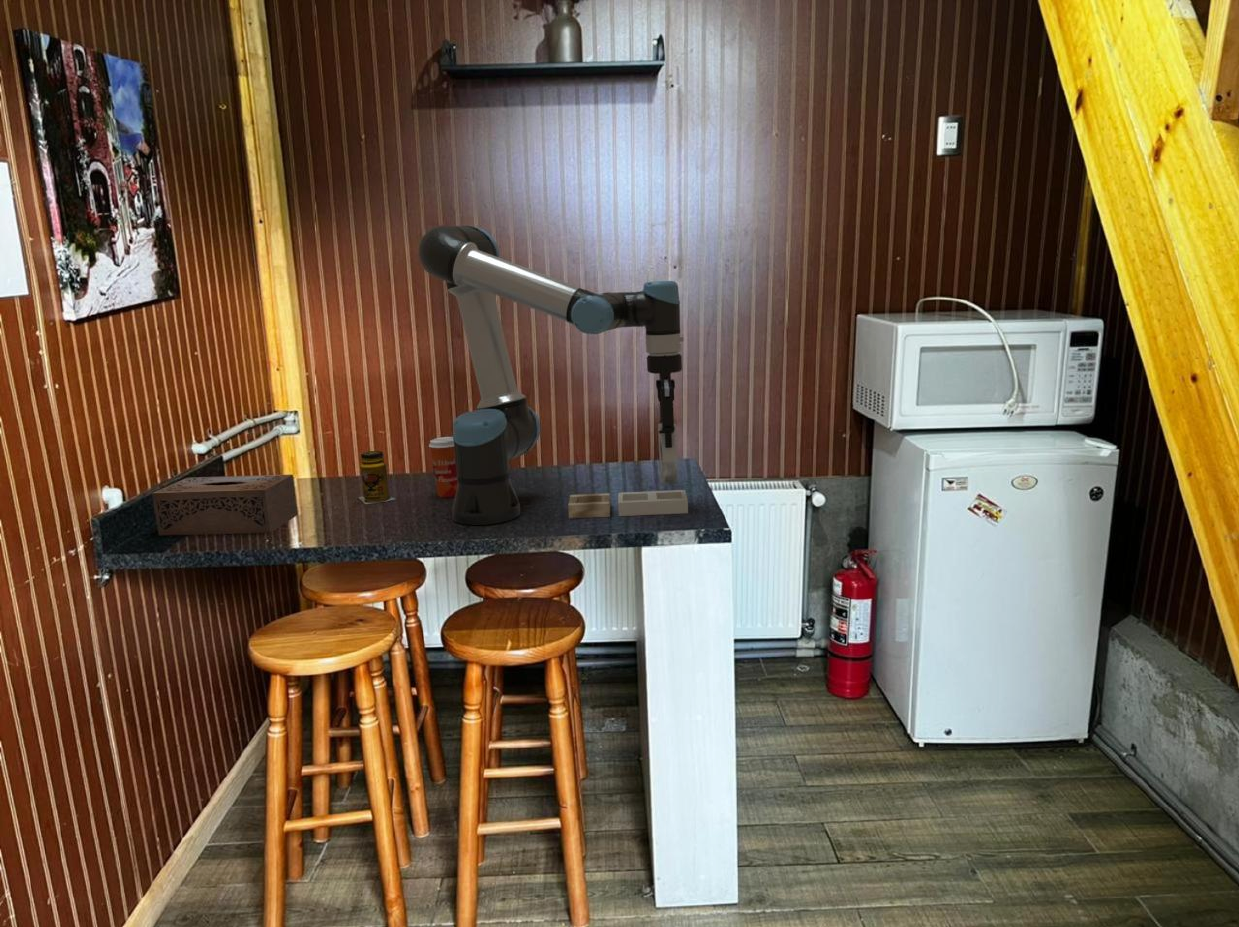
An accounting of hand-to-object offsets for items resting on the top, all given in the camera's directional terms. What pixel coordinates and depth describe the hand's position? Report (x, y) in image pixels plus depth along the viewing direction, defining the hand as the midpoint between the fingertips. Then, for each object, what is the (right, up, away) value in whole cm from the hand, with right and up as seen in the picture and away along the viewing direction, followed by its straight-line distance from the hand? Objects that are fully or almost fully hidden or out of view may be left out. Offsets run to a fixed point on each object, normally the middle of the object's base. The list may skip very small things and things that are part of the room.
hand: (668, 459), depth 200 cm
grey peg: (0, -5, +1) cm, 5 cm away
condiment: (-71, -10, +24) cm, 76 cm away
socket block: (-17, -12, +3) cm, 21 cm away
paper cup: (-53, -9, +25) cm, 59 cm away
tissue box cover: (-100, -15, +7) cm, 101 cm away
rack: (-3, -11, +3) cm, 12 cm away
